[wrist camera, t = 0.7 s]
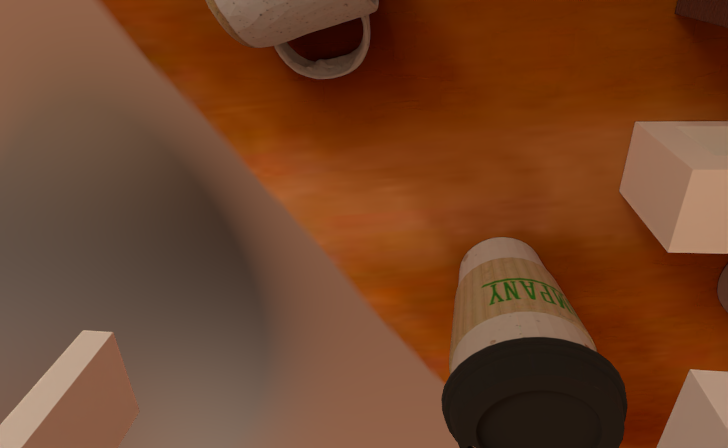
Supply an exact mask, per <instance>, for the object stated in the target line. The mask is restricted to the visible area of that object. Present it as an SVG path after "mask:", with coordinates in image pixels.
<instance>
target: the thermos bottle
mask: <svg viewBox="0 0 728 448" xmlns="http://www.w3.org/2000/svg"><path fill="white" fill-rule="evenodd" d="M717 293H718V297H719V301H720V302H721V304H722V306H723V307H724V309H725V310H726V311H727V312H728V264H727V265H726V267H725V268H724V270H723V272H722V273H721V275H720V278H719V281H718V289H717Z"/></svg>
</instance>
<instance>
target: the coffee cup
mask: <svg viewBox="0 0 728 448" xmlns="http://www.w3.org/2000/svg"><path fill="white" fill-rule="evenodd" d="M449 371H450V376H449V378H448V380H447V382H446V384H445V386H444V389H443V394H442V411H443V414H444V418H445V421H446V424H447V426H448V429H449V431H450V433H451V434H452V435H453V437H454V438H455V440H456V441H457V442H458V444H459V447H460V448H474V447H476V448H619V446H620V444H621V442H622V440H623V434H624V421H625V418H626V412H627V399H626V392H625V386H624V383H623V381H622V379H621V376H620V374H619V372H618V371H617V370H616V369H615V368H614V366H613V365H612V364H611V363H610V361H608V360H607V359H606V358H604V357H603V356H602V355H600V354H599V353H598V352H597V349H596V346H595V344H594V342H593V340H592V338H591V336H590V335H589V333H588V332H587V330H586V328H585V327H584V325H583V324H582V322H581V320H580V319H579V317H578V316H577V314H576V312H575V311H574V309H573V308H572V306H571V305H570V303H569V301H568V300H567V298H566V297H565V295H564V293H563V292H562V290H561V289H560V287H559V285H558V284H557V282H556V281H555V279H554V278H553V276H552V275H551V274H550V273H549V272H548V271H547V270H546V268H545V267H544V265H543V264H542V262H541V260H540V259H539V257H538V255H537V254H536V252H535V251H534V250H533V249H532V248H531V247H530V246H529V245H527V244H526V243H524V242H522V241H520V240H517V239H513V238H507V237H498V238H492V239H487V240H485V241H482V242H480V243H478V244H477V245H475V246H474V247H472V248H471V249H470V250H469V251H468V252H467V254H466V255H465V256H464V258H463V260H462V262H461V266H460V272H459V284H458V288H457V292H456V296H455V306H454V316H453V326H452V336H451V346H450V357H449ZM472 446H474V447H472Z"/></svg>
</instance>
